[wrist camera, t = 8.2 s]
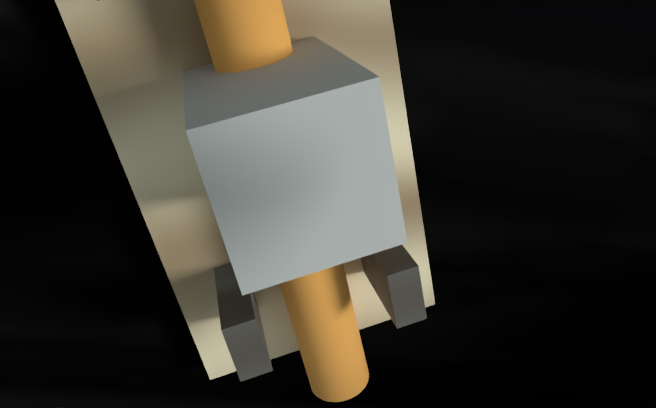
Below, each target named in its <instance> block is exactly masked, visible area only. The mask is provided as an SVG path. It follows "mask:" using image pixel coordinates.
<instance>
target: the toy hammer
mask: <svg viewBox="0 0 656 408" xmlns="http://www.w3.org/2000/svg"><path fill="white" fill-rule="evenodd" d="M194 2H195V5H196V9H197V12H198V15H199V19H200V22H201V25H202V29H203V32H204V35H205V39H206V42H207V45H208V48H209V52H210V55H211V58H212V62H213V63H212V64H208V65H205V66H201V67H197V68H193V69H190V70H186V71H182V74H183V93H184V111H185V129H186V133H187V136H188V139H189V142H190V145H191V148H192V151H193V154H194V157H195V160H196V163H197V165H198V168H199V171H200V174H201V177H202V180H203V183H204V186H205V189H206V192H207V194H208V197H209V200H210V203H211V206H212V209H213V212H214V215H215V218H216V221H217V224H218V226H219V229H220V232H221V235H222V238H223V241H224V244H225V247H226V250H227V253H228V256H229V258H230V261H231V264H232V267H233V270H234V273H235V276H236V279H237V282H238V285H239V288H240V290H241V293H242V296H243V295H246V294H249V293H252V292H255V291H258V290H261V289H265V288H268V287H271V286H274V285H277V284H280V286H281V290H282V293H283V296H284V300H285V303H286V306H287V310H288V313H289V316H290V319H291V323H292V326H293V329H294V333H295V336H296V339H297V343H298V346H299V349H300V352H301V356H302V359H303V362H304V366H305V369H306V372H307V376H308V379H309V382H310V386H311V389H312V391H313V393H314V394H315V395H316V396H317V397H318V398H320V399H322V400H324V401H328V402H341V401H345V400H348V399H351V398H353V397H355V396H356V395H358V394H359V393H360V392H361V391H362V390H363V389H364V388H365V386H366V385H367V383H368V379H369V372H368V368H367V363H366V359H365V355H364V351H363V346H362V342H361V338H360V333H359V329H358V325H357V321H356V316H355V312H354V308H353V304H352V299H351V295H350V291H349V287H348V282H347V278H346V274H345V270H344V265H343V263H346V262H349V261H352V260H355V259H358V258H361V257H365V256H368V255H371V254H374V253H377V252H380V251H383V250H386V249H390V248H393V247H396V246H399V245H402V244H405V243H408V242H407V236H406V230H405V224H404V218H403V212H402V206H401V200H400V195H399V189H398V183H397V177H396V171H395V165H394V159H393V153H392V147H391V141H390V135H389V129H388V123H387V118H386V112H385V106H384V100H383V94H382V88H381V82H380V77H379V76H378V75H376V74H374V73H373V72H371V71H369V70H368V69H366V68H365V67H363V66H361V65H360V64H358V63H357V62H355V61H353V60H352V59H350V58H349V57H347V56H345V55H344V54H342V53H341V52H339V51H337V50H336V49H334V48H332V47H331V46H329V45H328V44H326V43H324V42H323V41H321V40H320V39H318V38H316V37H315V36H314V37H311V38H307V39H303V40H299V41H295V42H292V43H291V40H290V36H289V31H288V27H287V23H286V19H285V14H284V10H283V6H282V2H281V0H194Z"/></svg>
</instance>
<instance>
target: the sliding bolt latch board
mask: <svg viewBox="0 0 656 408" xmlns="http://www.w3.org/2000/svg"><path fill="white" fill-rule="evenodd" d="M55 2H56V4H57V7H58V9H59V12H60V14H61V17H62V19H63V22H64V24H65V26H66V29H67V31H68V34H69V36H70V39H71V41H72V44H73V46H74V48H75V51H76V53H77V56H78V58H79V61H80V63H81V66H82V68H83V70H84V73H85V75H86V78H87V80H88V83H89V85H90V88H91V90H92V92H93V95H94V97H95V100H96V102H97V105H98V107H99V110H100V112H101V114H102V117H103V119H104V122H105V124H106V127H107V129H108V131H109V134H110V136H111V139H112V141H113V144H114V146H115V149H116V151H117V153H118V156H119V158H120V161H121V163H122V166H123V168H124V171H125V173H126V175H127V178H128V180H129V183H130V185H131V188H132V190H133V193H134V195H135V197H136V200H137V202H138V205H139V207H140V210H141V212H142V215H143V217H144V219H145V222H146V224H147V227H148V229H149V232H150V234H151V237H152V239H153V241H154V244H155V246H156V249H157V251H158V254H159V256H160V258H161V261H162V263H163V266H164V268H165V271H166V273H167V276H168V278H169V280H170V283H171V285H172V288H173V290H174V293H175V295H176V298H177V300H178V302H179V305H180V307H181V310H182V312H183V315H184V317H185V320H186V322H187V324H188V327H189V329H190V332H191V334H192V337H193V339H194V342H195V344H196V346H197V349H198V351H199V354H200V356H201V359H202V361H203V364H204V366H205V368H206V371H207V373H208V376H209V378H210V380H211V379H214V378H217V377H220V376H223V375H226V374H229V373H232V372H235V371H237V373H238V376H239V379H240V381H244V380H247V379H250V378H253V377H256V376H259V375H262V374H265V373H268V372H271V371H273V369H272V365H271V361H270V360H271V359H274V358H277V357H280V356H283V355H285V354H288V353H291V352H294V351H297V350H300V349H299V346H298V343H297V339H296V336H295V333H294V329H293V326H292V323H291V319H290V316H289V313H288V310H287V306H286V303H285V300H284V296H283V293H282V290H281V286H280V284H277V285H274V286H271V287H268V288H265V289H261V290H258V291H255V292H252V293H249V294H246V295H243V296H242V293H241V290H240V288H239V285H238V282H237V279H236V276H235V273H234V270H233V267H232V264H231V261H230V258H229V256H228V253H227V250H226V247H225V244H224V241H223V238H222V235H221V232H220V229H219V226H218V224H217V221H216V218H215V215H214V212H213V209H212V206H211V203H210V200H209V197H208V194H207V192H206V189H205V186H204V183H203V180H202V177H201V174H200V171H199V168H198V165H197V163H196V160H195V157H194V154H193V151H192V148H191V145H190V142H189V139H188V136H187V133H186V129H185V111H184V93H183V74H182V71H186V70H190V69H193V68H197V67H201V66H205V65H208V64H212V63H213V62H212V58H211V55H210V52H209V48H208V45H207V42H206V39H205V35H204V32H203V29H202V25H201V22H200V19H199V15H198V12H197V9H196V5H195V2H194V0H55ZM281 2H282V6H283V10H284V14H285V19H286V23H287V27H288V31H289V36H290V40H291V43H292V42H295V41H299V40H303V39H307V38H311V37H314V36H315V37H316V38H318V39H320V40H321V41H323V42H324V43H326V44H328V45H329V46H331V47H332V48H334V49H336V50H337V51H339V52H341V53H342V54H344V55H345V56H347V57H349V58H350V59H352V60H353V61H355V62H357V63H358V64H360V65H361V66H363V67H365V68H366V69H368V70H369V71H371V72H373V73H374V74H376V75H378V76H379V77H380V82H381V88H382V94H383V100H384V106H385V112H386V118H387V123H388V129H389V135H390V141H391V147H392V153H393V159H394V165H395V171H396V177H397V183H398V189H399V195H400V200H401V206H402V212H403V218H404V224H405V230H406V236H407V242H408V243H405V244H402V245H399V246H396V247H393V248H390V249H386V250H383V251H380V252H377V253H374V254H371V255H368V256H365V257H361V258H358V259H355V260H352V261H349V262H346V263H343V265H344V270H345V274H346V278H347V282H348V287H349V291H350V295H351V299H352V304H353V308H354V312H355V316H356V321H357V325H358V329H359V330H360V329H363V328H366V327H369V326H372V325H375V324H378V323H381V322H384V321H387V320H390V319H392V321H393V323H394V324H395V326H396V328H400V327H403V326H406V325H409V324H412V323H415V322H418V321H421V320H424V319H427V316H426V309H425V307H428V306H431V305H434V304H435V300H434V294H433V287H432V280H431V274H430V267H429V260H428V254H427V247H426V240H425V234H424V227H423V220H422V214H421V207H420V200H419V194H418V187H417V181H416V174H415V167H414V161H413V154H412V147H411V141H410V134H409V127H408V121H407V114H406V107H405V101H404V94H403V87H402V81H401V74H400V67H399V61H398V54H397V48H396V41H395V34H394V28H393V21H392V14H391V8H390V1H389V0H281Z"/></svg>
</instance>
